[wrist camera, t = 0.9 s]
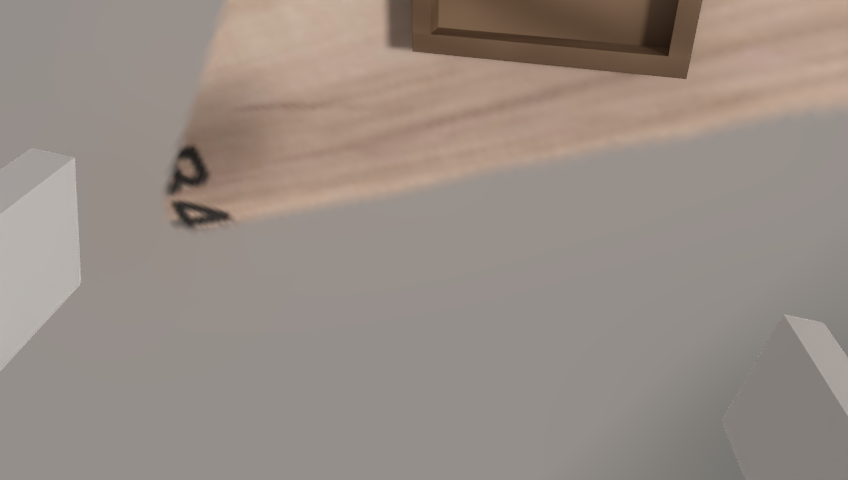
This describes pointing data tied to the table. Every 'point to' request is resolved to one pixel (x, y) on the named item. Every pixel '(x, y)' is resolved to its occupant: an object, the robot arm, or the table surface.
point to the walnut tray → (563, 32)
